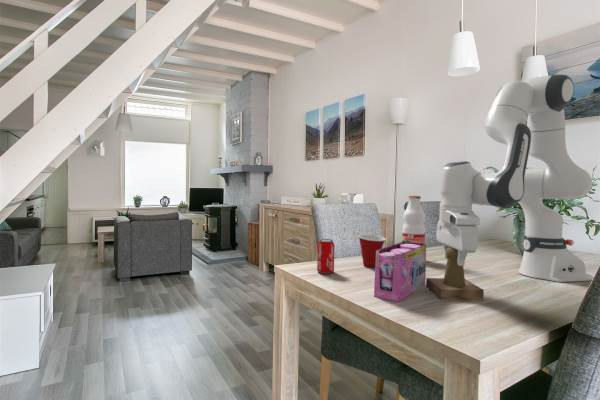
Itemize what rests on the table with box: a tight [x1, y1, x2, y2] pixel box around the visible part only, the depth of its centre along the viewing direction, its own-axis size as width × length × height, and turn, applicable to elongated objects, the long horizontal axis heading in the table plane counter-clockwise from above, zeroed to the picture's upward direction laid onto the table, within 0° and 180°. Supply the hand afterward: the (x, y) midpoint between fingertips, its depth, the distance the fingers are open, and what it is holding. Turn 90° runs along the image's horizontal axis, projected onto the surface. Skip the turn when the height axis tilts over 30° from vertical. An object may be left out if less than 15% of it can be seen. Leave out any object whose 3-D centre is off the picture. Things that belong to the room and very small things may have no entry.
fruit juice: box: [401, 195, 426, 244], centre depth 149 cm, size 9×9×28 cm
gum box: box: [373, 241, 427, 303], centre depth 106 cm, size 24×8×14 cm, turn 142°
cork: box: [443, 247, 466, 287], centre depth 103 cm, size 6×6×11 cm
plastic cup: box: [357, 234, 387, 269], centre depth 138 cm, size 11×11×12 cm
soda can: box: [316, 238, 335, 275], centre depth 127 cm, size 6×6×12 cm
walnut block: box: [425, 277, 484, 301], centre depth 104 cm, size 12×12×3 cm
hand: (454, 262), depth 104 cm, fingers open, 7 cm apart
